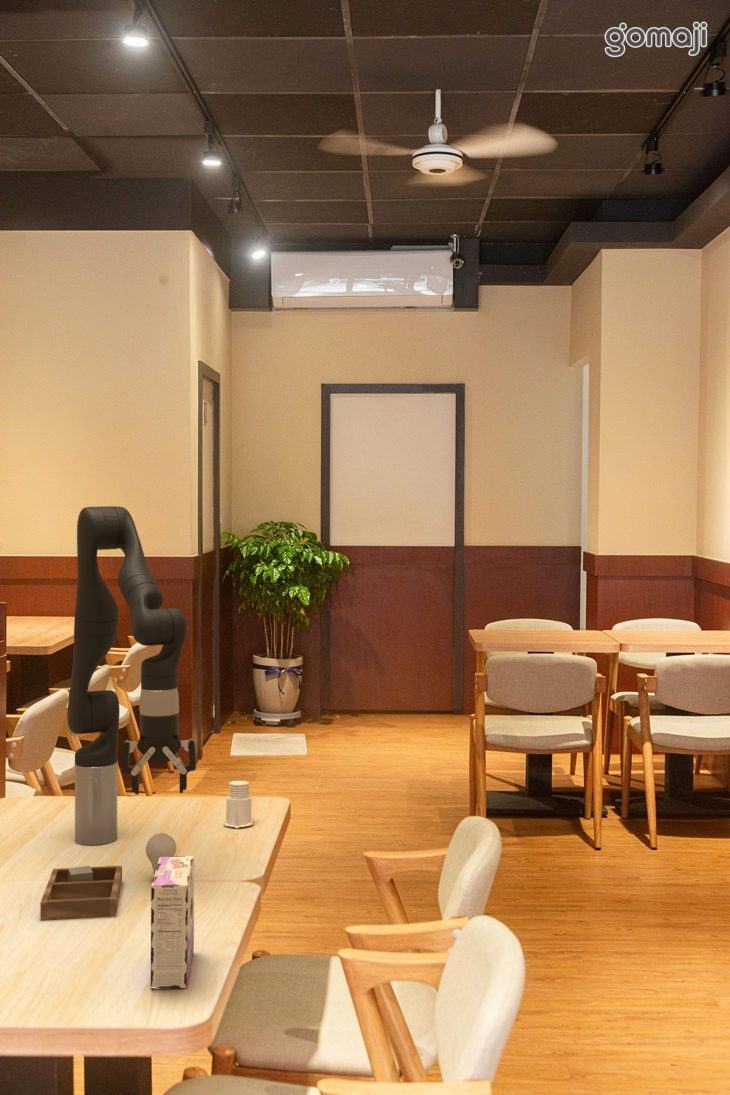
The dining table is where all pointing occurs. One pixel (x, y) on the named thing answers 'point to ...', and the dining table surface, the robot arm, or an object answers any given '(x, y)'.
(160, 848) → the light bulb
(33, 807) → the dining table surface
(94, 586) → the robot arm
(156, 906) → the candy box
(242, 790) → the downlight
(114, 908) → the box
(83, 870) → the grey cube
